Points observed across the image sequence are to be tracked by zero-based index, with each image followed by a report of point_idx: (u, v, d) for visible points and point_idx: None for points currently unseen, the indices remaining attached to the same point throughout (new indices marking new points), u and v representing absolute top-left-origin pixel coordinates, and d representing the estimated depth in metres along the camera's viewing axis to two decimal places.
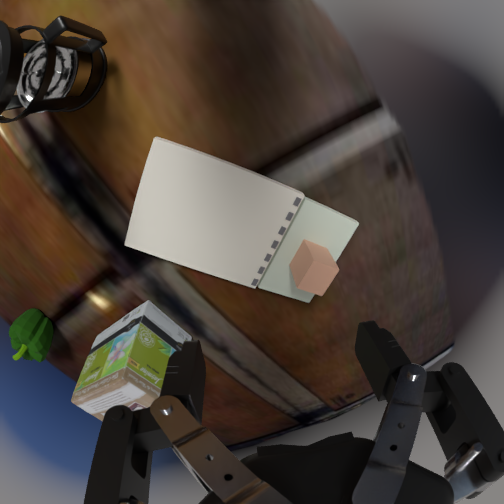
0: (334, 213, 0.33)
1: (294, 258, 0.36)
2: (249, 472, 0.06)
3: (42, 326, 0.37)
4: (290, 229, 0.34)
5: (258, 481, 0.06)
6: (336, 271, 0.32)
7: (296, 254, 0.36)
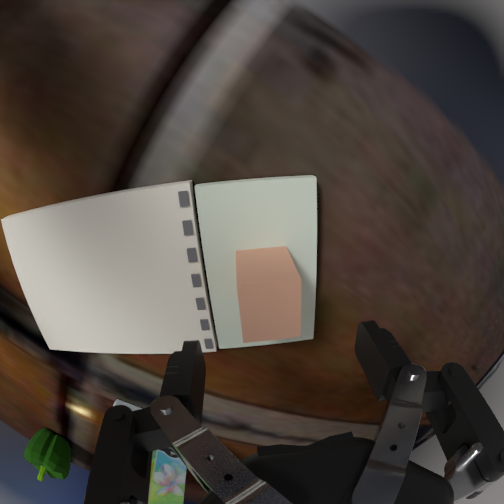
0: (259, 183, 0.18)
1: None
2: (249, 472, 0.06)
3: (51, 445, 0.28)
4: (203, 246, 0.20)
5: (258, 481, 0.06)
6: (297, 285, 0.15)
7: None
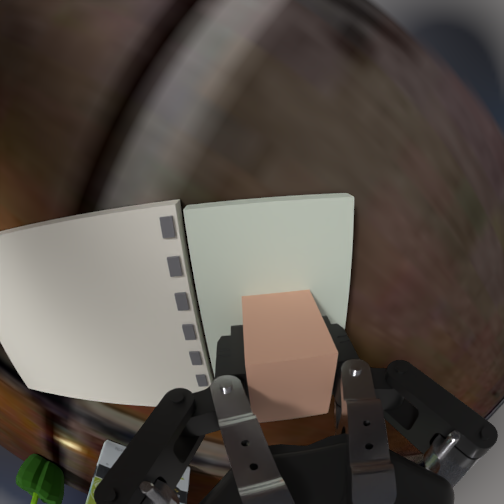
0: (275, 205, 0.13)
1: None
2: (275, 468, 0.06)
3: (43, 472, 0.23)
4: (198, 290, 0.14)
5: (278, 479, 0.06)
6: (332, 360, 0.10)
7: None
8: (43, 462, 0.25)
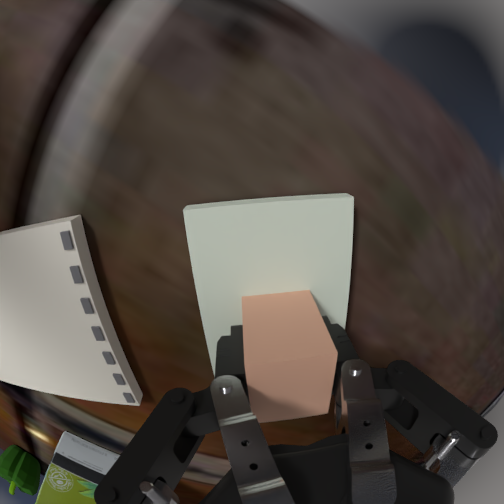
0: (275, 205, 0.13)
1: None
2: (275, 468, 0.06)
3: (19, 462, 0.23)
4: (198, 291, 0.14)
5: (278, 479, 0.06)
6: (331, 360, 0.10)
7: None
8: (21, 453, 0.25)
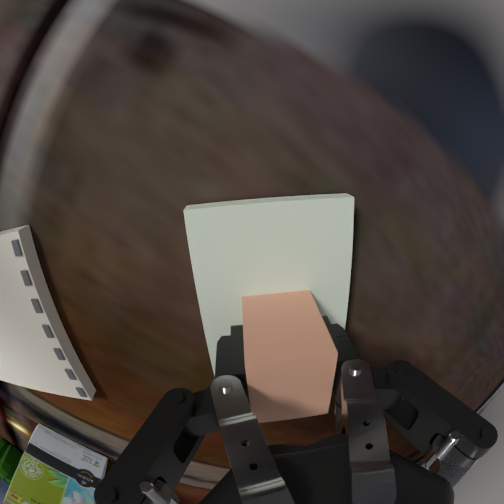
0: (275, 205, 0.13)
1: None
2: (275, 468, 0.06)
3: (4, 454, 0.23)
4: (198, 291, 0.14)
5: (279, 479, 0.06)
6: (331, 360, 0.10)
7: None
8: (6, 445, 0.25)
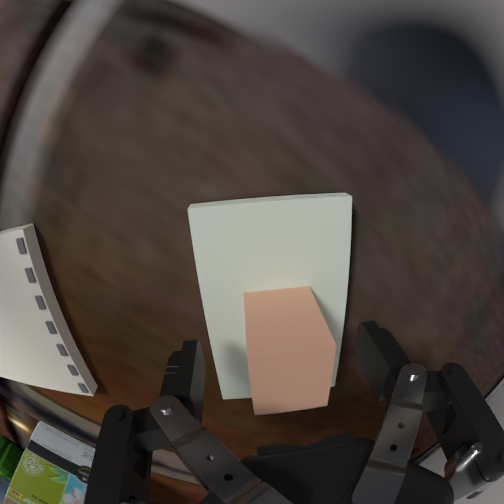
0: (276, 204, 0.13)
1: None
2: (249, 472, 0.06)
3: (5, 452, 0.23)
4: (201, 287, 0.15)
5: (258, 481, 0.06)
6: (330, 352, 0.11)
7: None
8: (7, 443, 0.25)
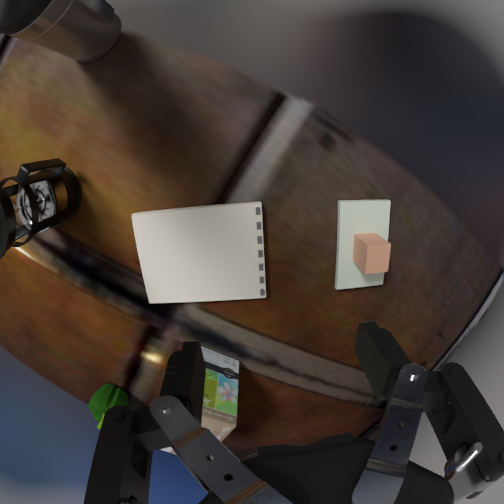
0: (367, 202, 0.37)
1: (354, 252, 0.40)
2: (249, 472, 0.06)
3: (115, 395, 0.47)
4: (340, 231, 0.39)
5: (258, 481, 0.06)
6: (389, 246, 0.35)
7: (354, 248, 0.39)
8: (115, 388, 0.49)
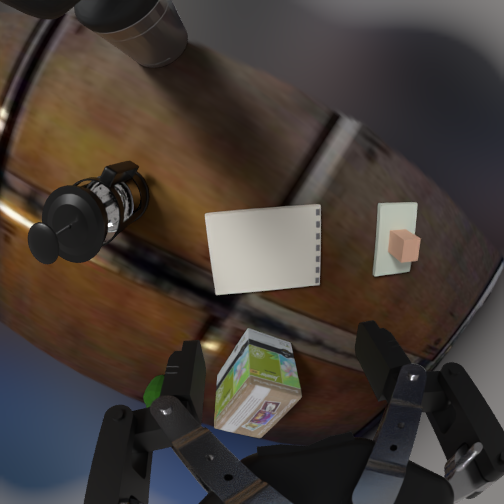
0: (400, 204, 0.44)
1: (389, 245, 0.46)
2: (249, 472, 0.06)
3: None
4: (379, 228, 0.46)
5: (258, 481, 0.06)
6: (419, 240, 0.41)
7: (389, 242, 0.46)
8: None
